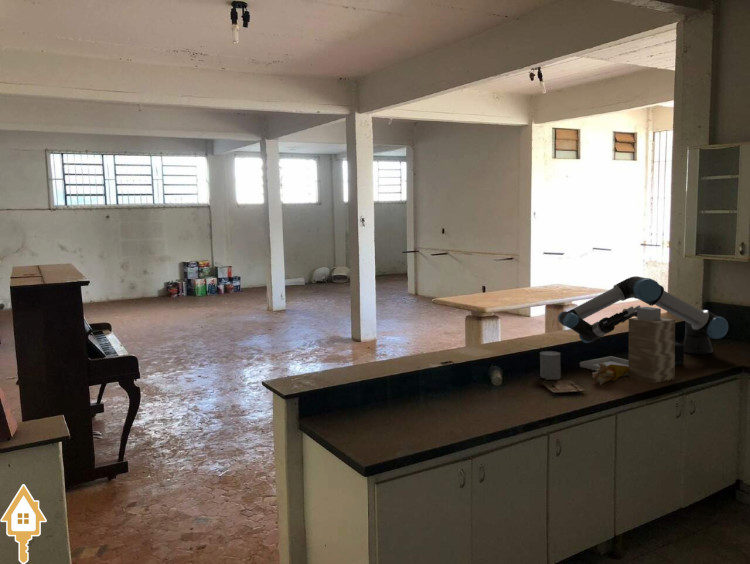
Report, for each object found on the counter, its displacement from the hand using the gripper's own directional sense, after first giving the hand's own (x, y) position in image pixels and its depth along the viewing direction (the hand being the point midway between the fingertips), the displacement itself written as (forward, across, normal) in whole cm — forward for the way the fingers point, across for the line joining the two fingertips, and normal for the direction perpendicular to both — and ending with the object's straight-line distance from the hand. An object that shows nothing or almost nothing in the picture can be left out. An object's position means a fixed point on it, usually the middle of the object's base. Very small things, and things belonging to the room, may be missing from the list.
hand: (636, 308), depth 287 cm
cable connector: (-1, 0, -5) cm, 5 cm away
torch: (-14, +18, -29) cm, 37 cm away
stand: (-9, 0, -32) cm, 33 cm away
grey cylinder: (-31, +38, -19) cm, 53 cm away
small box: (-20, -32, -26) cm, 46 cm away
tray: (-27, 0, -21) cm, 35 cm away
